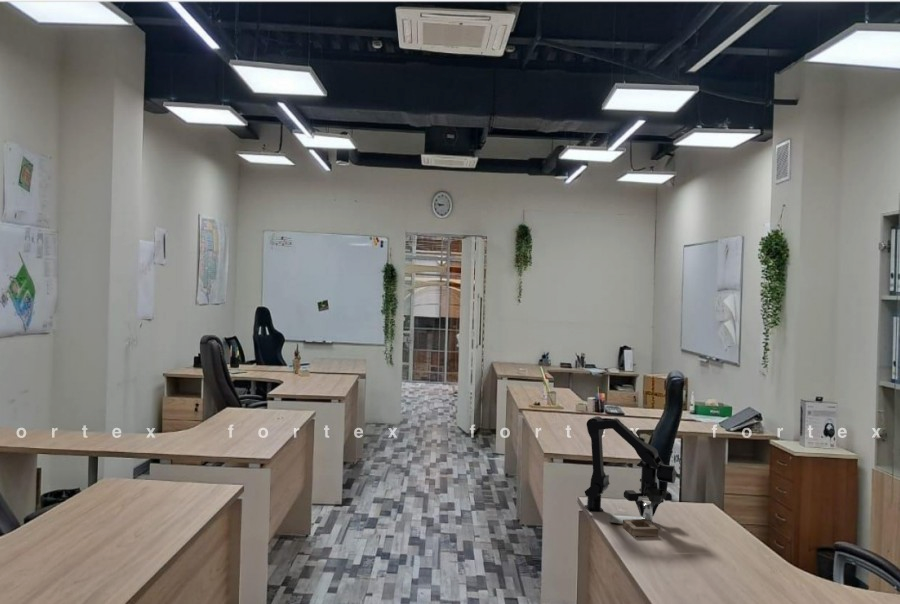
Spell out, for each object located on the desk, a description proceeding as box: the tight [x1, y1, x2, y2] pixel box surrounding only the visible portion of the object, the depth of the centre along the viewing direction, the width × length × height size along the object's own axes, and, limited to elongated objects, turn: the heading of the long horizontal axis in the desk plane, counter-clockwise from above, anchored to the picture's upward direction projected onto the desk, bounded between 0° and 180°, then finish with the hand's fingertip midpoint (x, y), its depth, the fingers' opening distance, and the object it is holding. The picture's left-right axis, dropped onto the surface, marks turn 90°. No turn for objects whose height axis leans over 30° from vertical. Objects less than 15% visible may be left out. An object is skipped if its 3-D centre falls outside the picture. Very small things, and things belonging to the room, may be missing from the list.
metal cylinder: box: [640, 501, 654, 523], centre depth 259 cm, size 4×4×7 cm
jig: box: [622, 518, 659, 538], centre depth 247 cm, size 10×10×3 cm
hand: (646, 516), depth 259 cm, fingers closed on metal cylinder, 4 cm apart
